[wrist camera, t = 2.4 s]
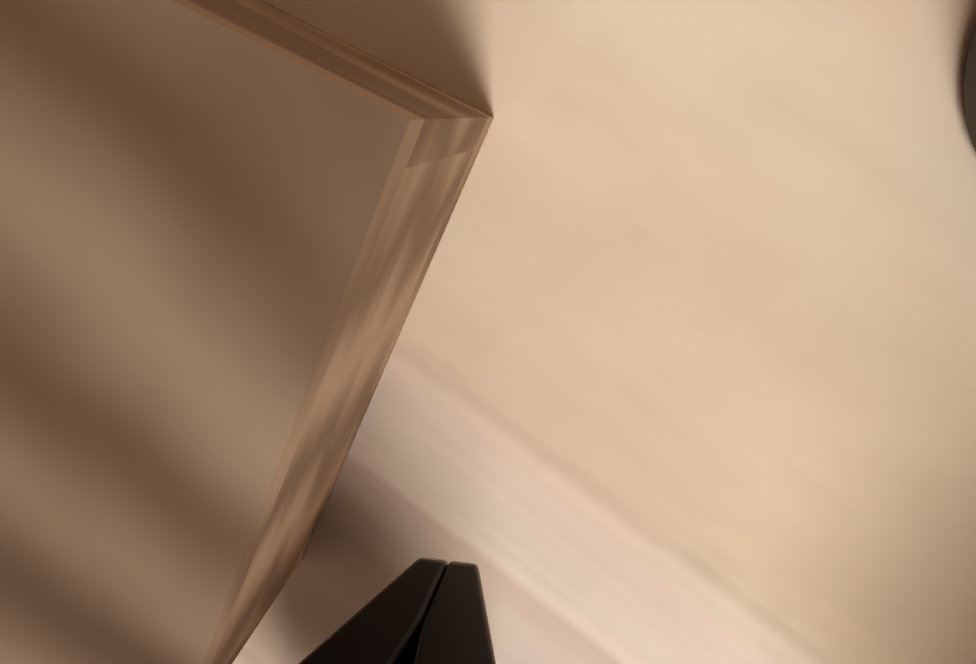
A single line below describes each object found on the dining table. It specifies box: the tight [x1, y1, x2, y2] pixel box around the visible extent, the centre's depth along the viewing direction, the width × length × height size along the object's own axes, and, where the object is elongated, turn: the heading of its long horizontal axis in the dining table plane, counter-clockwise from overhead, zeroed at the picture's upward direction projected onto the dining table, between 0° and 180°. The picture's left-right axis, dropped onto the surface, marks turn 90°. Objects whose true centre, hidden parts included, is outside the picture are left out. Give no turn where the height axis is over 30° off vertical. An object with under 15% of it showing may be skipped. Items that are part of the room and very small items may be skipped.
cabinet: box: [0, 0, 493, 664], centre depth 18 cm, size 20×10×9 cm, turn 155°
